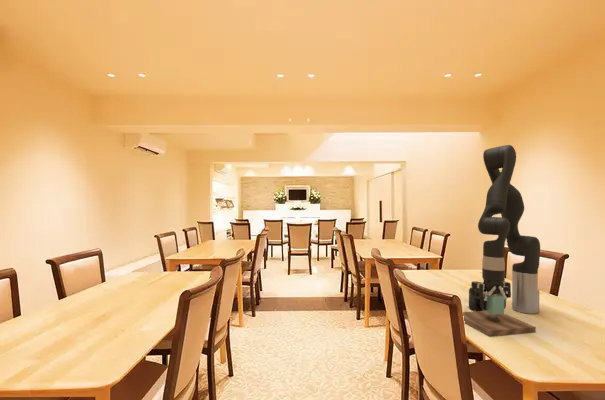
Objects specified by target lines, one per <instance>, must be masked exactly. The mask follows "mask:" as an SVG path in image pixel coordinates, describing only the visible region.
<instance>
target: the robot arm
mask: <svg viewBox="0 0 605 400" xmlns="http://www.w3.org/2000/svg"><path fill="white" fill-rule="evenodd" d="M482 154H483V155H482V156H483V158H482V159H483V162H484V166H485V169H486V171H487V173H488V174H487V175H488V176H489V179H490V181H491V186H490V187H489V188H488V191H487V193H486V200H485V207H484V210H483V213H482V214H481V216H480V218H479V220H478V223H477V230H478V231H479V233H480V234H481V235H489V236H490V235H491V236H497V238H496V239H493V240H486V241H484V242H483V245H482V260H481V262H482V267H481V268H482V269H481V272H482V273H481V274H482V275H481V278H482V280H483V281H482V283H476V293H475V297H476V298H478V299H480V307H481V309H482V310H484V311H485V310H487V301H486V300H487V299H488V297H490V296H491V294H500V295H503V296H504V310H505V309H506V308H507V299H510V298H511V299H512V300H511V310H513V311H516V312H519V313H522V314H528V315H529V314H530V315H534V314H535V315H536V314H538V313H539V312H540V290H539V282H538V281H539V267H540V257H541V243H540V240H539V238H538V237H536V236H530V235H521V234H520V231H519V222H520V221H521V218H522V216H523V214H524V212H525V204H524V199H523V196H522V194H521V191H519V190H518V189H517V188H516V186H514V185H513V184H512V183H511V180H512V179H513V175H514V174H513V173H514V171H515V170H514V169H515V166H516V162H517V152H516V149H515V147H514V146H513V145H511V144H506V145H505V144H504V145H499V146H494V147H490V148H487V149H485V150H484V151H483V153H482ZM500 169H501V170H500ZM496 215H501V217H500V216H497V217H496ZM494 216H495V217H494ZM505 244H506V245H507V248H508V251H509V253H511V254H513V255H514V256H521V257H524V258H523V261H522V262H516V263H513V264H512V266H511V270H512V272H511V276H512V277H511V279H512V280H511V283H510V282H509V281H505V279H506V277H505V276H506V270H505V269H506V261H505ZM484 296H485V297H484Z"/></svg>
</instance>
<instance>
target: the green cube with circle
mask: <svg viewBox="0 0 605 400" xmlns="http://www.w3.org/2000/svg"><path fill="white" fill-rule="evenodd" d="M484 297H485V296H484ZM486 301H487V310H485V311H486V312H488V313H490V314H493V315H494V314H505V309H504V296H503V295H500V294H491V296H490V297H488V299H487V300H486Z"/></svg>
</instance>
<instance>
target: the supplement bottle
mask: <svg viewBox="0 0 605 400" xmlns="http://www.w3.org/2000/svg"><path fill="white" fill-rule="evenodd" d="M476 283H483V281H477V280H476V281H475V280H473V281H471V284H470V286H471V287H469V289H468V308H469V310H471V311H473V312H474V311H484V310H482V309H481V307H480V299H478V298H476V297H475V293H476Z"/></svg>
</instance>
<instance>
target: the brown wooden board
mask: <svg viewBox="0 0 605 400" xmlns="http://www.w3.org/2000/svg"><path fill="white" fill-rule="evenodd" d="M463 316H464V321H465V323H464V324H465V325H467V326H469V327H470V328H473V329H475V330H477V331H479V332H480V333H482V334H484V335H486V336H487V337H498V336H499V337H500V336H501V337H502V336H510V335H521V334H532V333H536V331H537V328H536V326H534V325H532V324H530V323H527V322H525V321H523V320H520V319H519V318H516V317H513V316H510V315H508V314H506V313H504V314H494V315H493V314H490V313H488V312H486V311H474V310H473V311H463Z"/></svg>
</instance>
